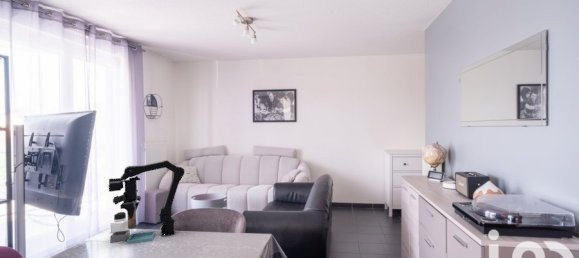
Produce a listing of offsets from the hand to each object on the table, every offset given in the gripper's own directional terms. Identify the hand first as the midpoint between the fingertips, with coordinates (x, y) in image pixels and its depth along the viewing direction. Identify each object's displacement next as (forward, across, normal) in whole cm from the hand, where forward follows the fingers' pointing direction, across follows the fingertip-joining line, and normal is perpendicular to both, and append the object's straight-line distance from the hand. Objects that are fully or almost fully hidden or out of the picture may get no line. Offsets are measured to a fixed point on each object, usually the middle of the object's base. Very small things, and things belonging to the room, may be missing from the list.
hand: (131, 217), depth 157 cm
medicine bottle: (+13, -17, -10) cm, 24 cm away
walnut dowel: (+6, 0, 0) cm, 6 cm away
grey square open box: (+13, -1, -6) cm, 14 cm away
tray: (+13, +2, +5) cm, 14 cm away
